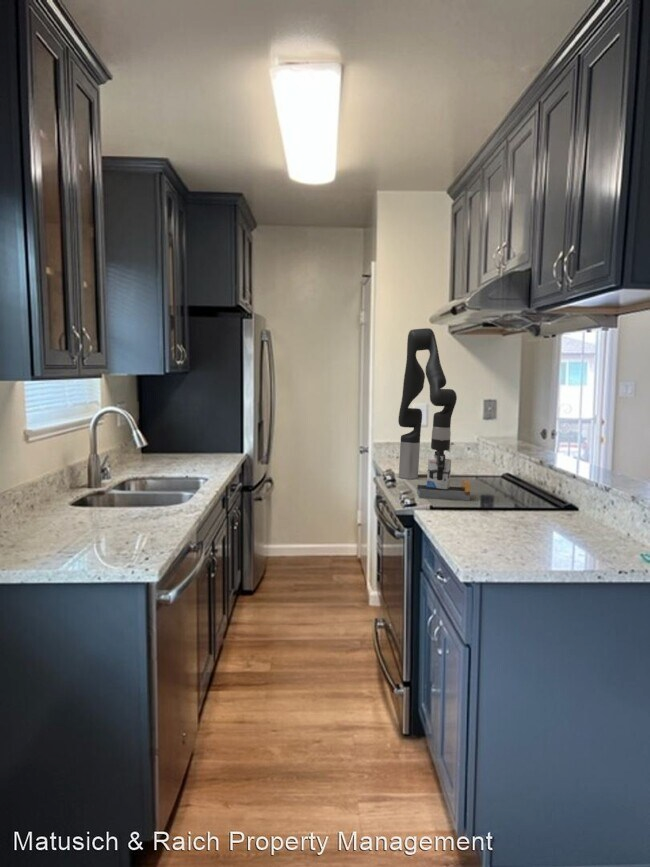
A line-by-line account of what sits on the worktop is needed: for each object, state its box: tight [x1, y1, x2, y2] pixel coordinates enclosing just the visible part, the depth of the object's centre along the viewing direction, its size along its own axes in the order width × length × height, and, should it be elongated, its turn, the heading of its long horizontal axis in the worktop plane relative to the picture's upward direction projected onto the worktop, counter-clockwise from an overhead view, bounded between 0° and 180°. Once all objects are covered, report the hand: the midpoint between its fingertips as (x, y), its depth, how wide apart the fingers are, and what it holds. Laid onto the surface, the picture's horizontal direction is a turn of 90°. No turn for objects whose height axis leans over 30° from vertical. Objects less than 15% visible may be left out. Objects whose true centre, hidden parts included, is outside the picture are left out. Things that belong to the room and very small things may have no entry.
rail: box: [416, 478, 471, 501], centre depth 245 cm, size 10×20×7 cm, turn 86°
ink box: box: [426, 457, 452, 489], centre depth 244 cm, size 8×5×12 cm, turn 63°
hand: (438, 478), depth 245 cm, fingers closed on ink box, 6 cm apart
